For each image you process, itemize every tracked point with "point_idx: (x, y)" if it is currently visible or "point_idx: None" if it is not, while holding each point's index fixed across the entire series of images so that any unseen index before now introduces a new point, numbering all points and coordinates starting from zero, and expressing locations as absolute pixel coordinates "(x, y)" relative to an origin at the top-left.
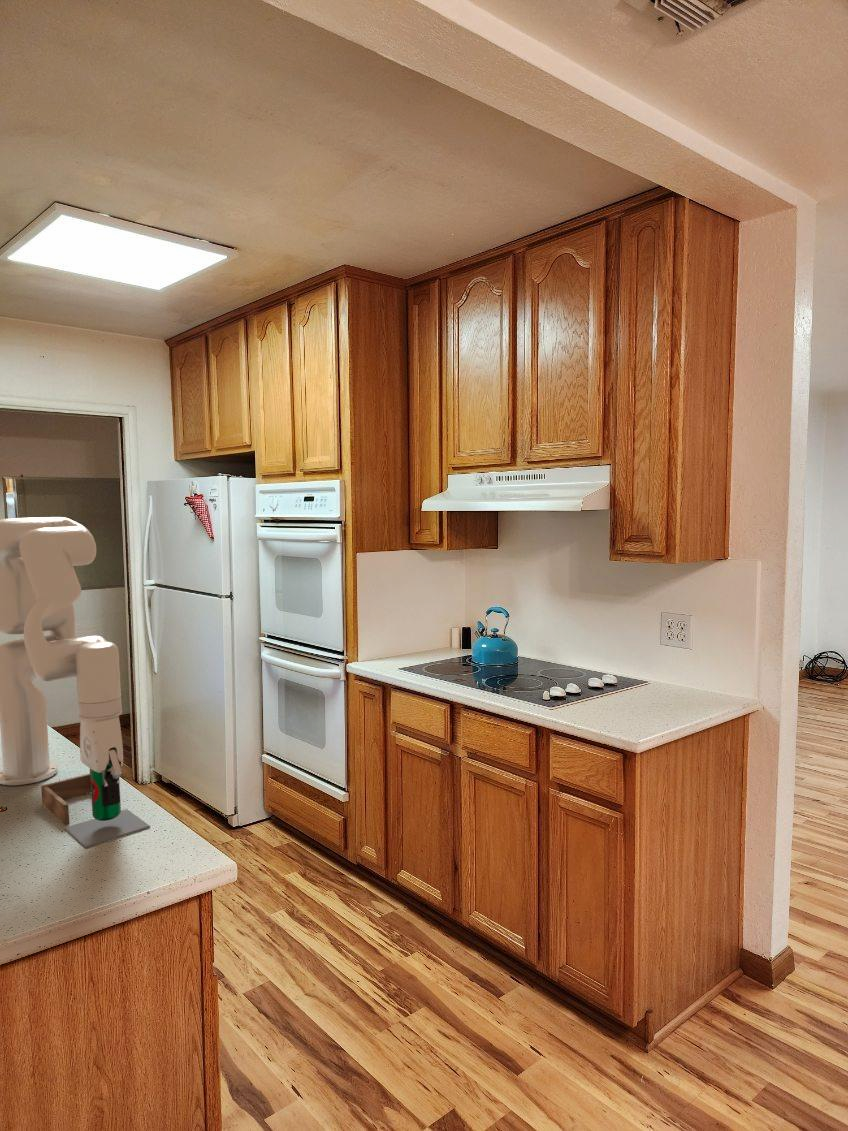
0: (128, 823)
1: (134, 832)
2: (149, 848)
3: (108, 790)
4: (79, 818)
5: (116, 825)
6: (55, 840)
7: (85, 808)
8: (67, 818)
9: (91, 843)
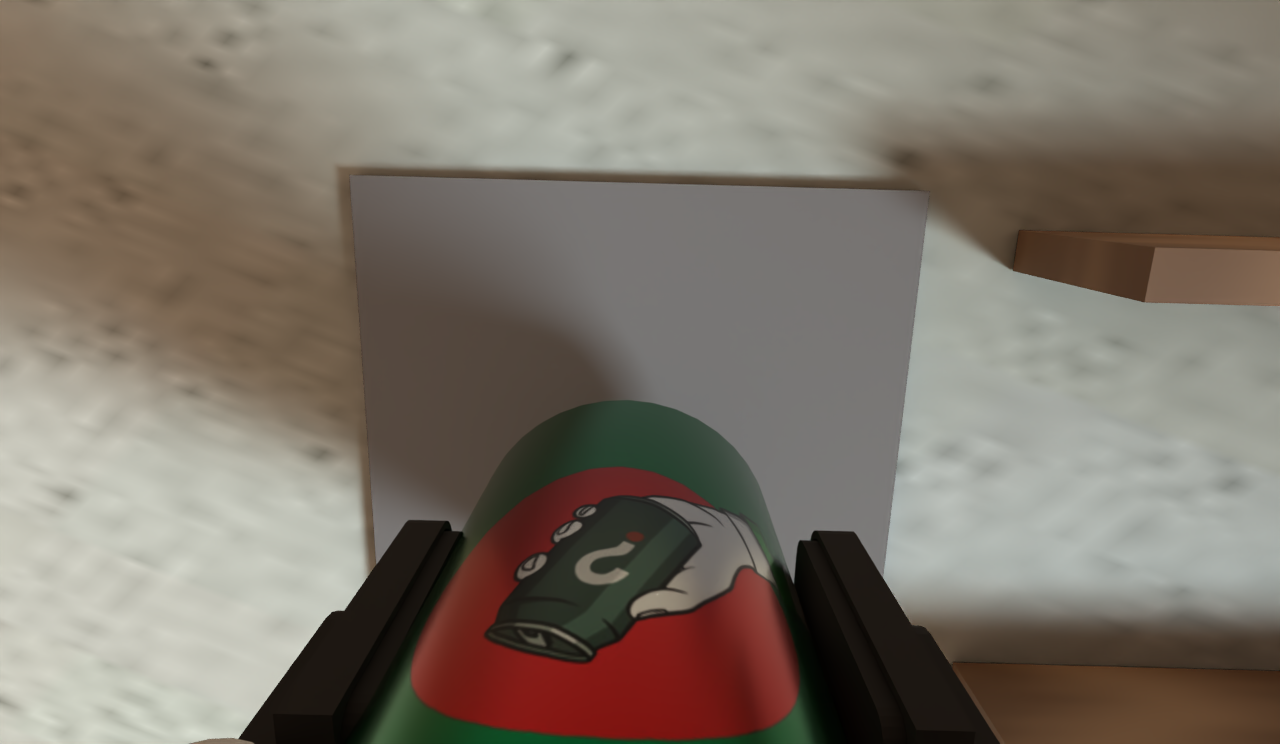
0: None
1: None
2: (10, 550)
3: (249, 738)
4: (1057, 383)
5: None
6: (747, 27)
7: (1228, 505)
8: (1047, 261)
9: (367, 237)
